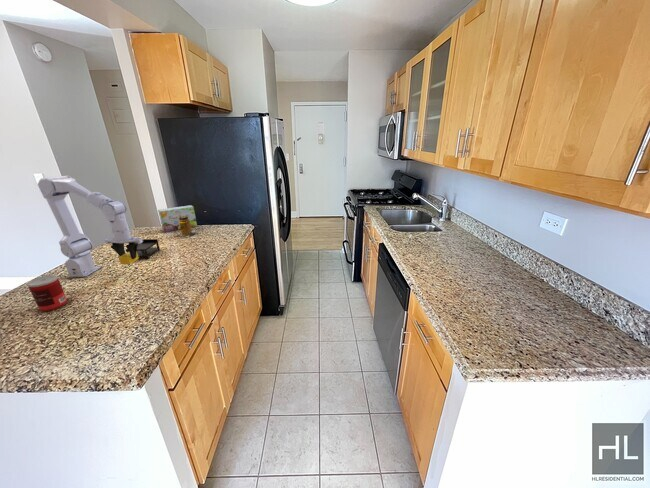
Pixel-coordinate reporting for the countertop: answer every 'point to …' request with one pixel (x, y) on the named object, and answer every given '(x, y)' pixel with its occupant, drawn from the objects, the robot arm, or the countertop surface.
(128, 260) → the yellow block
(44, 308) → the canned food
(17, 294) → the countertop surface
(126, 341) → the countertop surface
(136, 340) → the countertop surface
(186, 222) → the condiment
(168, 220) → the snack box
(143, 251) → the rack
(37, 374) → the countertop surface
